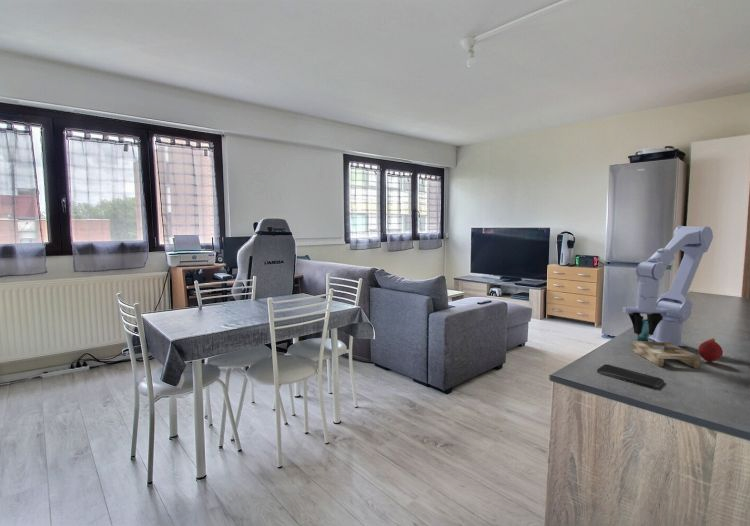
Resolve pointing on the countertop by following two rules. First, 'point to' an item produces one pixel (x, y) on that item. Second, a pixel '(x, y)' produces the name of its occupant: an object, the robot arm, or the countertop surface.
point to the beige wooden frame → (664, 353)
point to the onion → (710, 350)
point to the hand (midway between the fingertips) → (643, 333)
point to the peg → (644, 331)
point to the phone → (631, 376)
